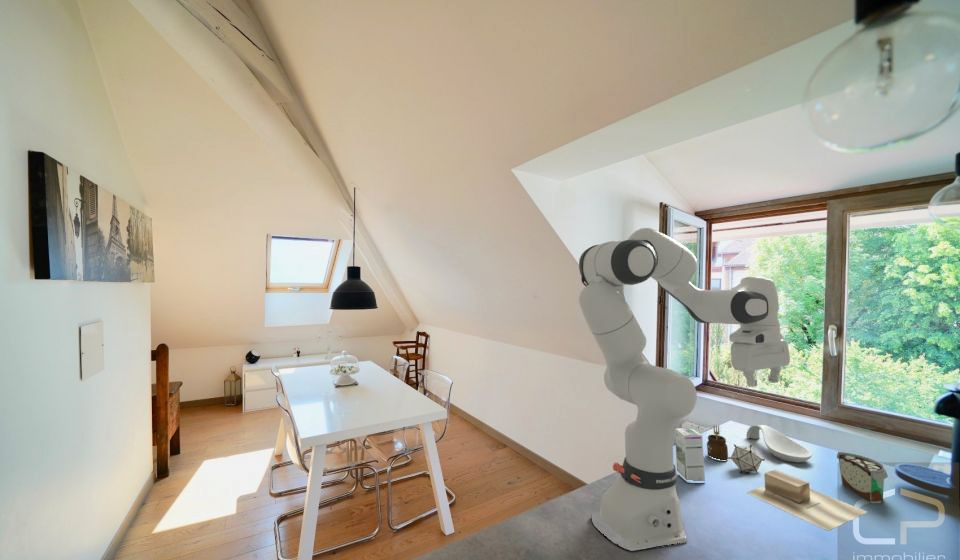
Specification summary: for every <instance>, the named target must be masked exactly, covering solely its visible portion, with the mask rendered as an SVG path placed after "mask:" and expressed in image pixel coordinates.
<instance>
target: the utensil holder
mask: <svg viewBox="0 0 960 560" xmlns="http://www.w3.org/2000/svg"><path fill="white" fill-rule="evenodd" d="M721 429H722V427H721V425H720V424H718V425H713V431H712V433H713V434H709V435H708V436H707V443H706V447H707V449H706V450H707V456H708V455H709V456H711V457H713V458H716V459H720V460H727V459H728V457H729V450H728V444H727V439H726V438H725V437H724V436H722V435H721V432H720V430H721ZM709 456H708V457H709ZM727 461H728V460H727Z"/></svg>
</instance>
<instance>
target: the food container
mask: <svg viewBox="0 0 960 560" xmlns="http://www.w3.org/2000/svg"><path fill="white" fill-rule="evenodd" d="M836 459H838V464H839V471H840V480H841V484H842V486H844V487H846V488H847V489H849V490H850V491H852V492H853V493H855V494H856V495H858V496H860V497H861V498H862V499H864V500H866V501H867V502H869V503H870V504H881V503H882V502H883V501H884V488H885V487H884V485H885V483H884V481H885V479H887V478H888V477H889V476H888V473H887V470H886V468H885V467H884V465H883V464H882V463H880V462H878V460H874V459H872V458H869V457H865V456H863V455H859V454H855V453H851V452H844V451H837V454H836Z"/></svg>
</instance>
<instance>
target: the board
mask: <svg viewBox="0 0 960 560" xmlns="http://www.w3.org/2000/svg"><path fill="white" fill-rule="evenodd" d="M746 494H748V495H750V496H752V497H755V498H757V499H759V500H760V501H763V502H765V503H767V504H769V505H772V506H774V507H776V508H777V509H780V510H782V511H784V512H787V513H789V514H791V515H792V516H795V517H797V518H800V519H801V520H804V521H805V522H807V523H809V524H812V525H814V526H816V527H818V528H820V529H823V530H824V531H827V532H829V531H832V530H834V529H836V528H837V527H839V526H842V525H843V524H846V523H849V522H851V521H853V520H855V519H857V518H859V517H861V516H863V515H866V514H867V513H869V511H867V510H864V509H862V508H859V507H857V506H854V505H851V504H850V503H847V502H845V501H841V500H840V499H837V498H834V497H831V496H829V495H826V494H824V493H822V492H819V491H818V490H814V489H812V488H810V500H809V501H806V502H804V503H801V504H797V503H795V502H793V501H790V500H788V499H786V498H784V497H781V496H779V495H777V494H774V493H772V492H770V491H768V490H765V485H763V486H760V487H757V488H755V489H752V490H750V491H746Z"/></svg>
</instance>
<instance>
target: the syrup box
mask: <svg viewBox="0 0 960 560" xmlns="http://www.w3.org/2000/svg"><path fill="white" fill-rule="evenodd" d="M674 439H675V442H674V443H675V456H676V457H675V459H676V472H677V471H678V472H679V473H680V474H681V475H682V476H683V477H684V478H685V479H686V480H693V481H705V482H706V478H705V476H706V475H705V460H704V444H703V442H704V441H703V434H701V433H700V432H699V431H697V430H695V429H694V428H692V427H691V428H690V427H681V428H680V427H678V428H675V431H674Z"/></svg>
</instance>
